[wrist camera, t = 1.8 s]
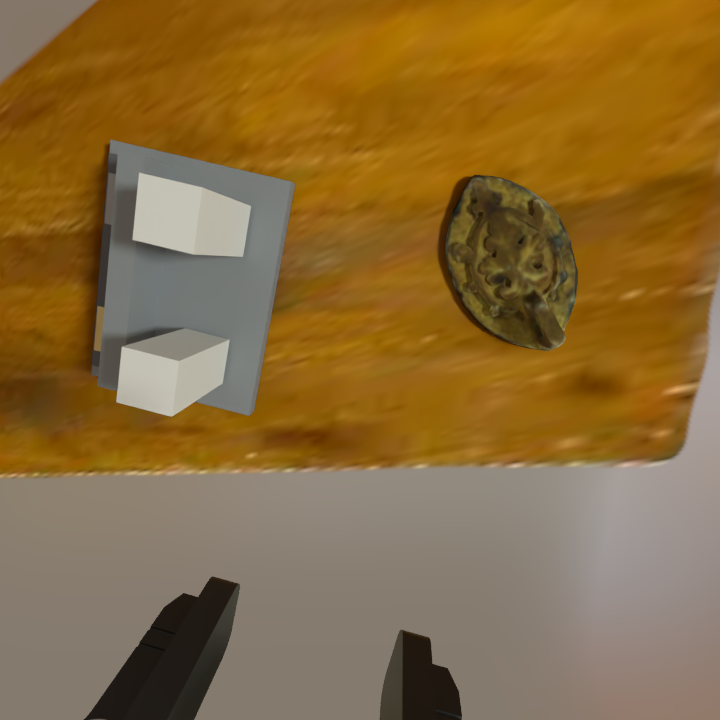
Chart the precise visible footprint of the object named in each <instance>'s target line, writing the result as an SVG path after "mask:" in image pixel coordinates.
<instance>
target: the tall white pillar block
mask: <svg viewBox="0 0 720 720" xmlns="http://www.w3.org/2000/svg"><path fill="white" fill-rule="evenodd" d="M229 341H230V339H226V338H222V337H218V336H214V335H210V334H206V333H202V332H198V331H194V330H190V329H186V328H184V329H181V330H177V331H174V332H170V333H167V334H163V335H160V336H156V337H153V338H150V339H146V340H143V341H139V342H136V343H132V344H129V345H125V346H122V350H121V360H120V370H119V380H118V390H117V401H116V402H118V403H121V404H125V405H129V406H133V407H137V408H140V409H144V410H148V411H152V412H156V413H160V414H163V415H167V416H171V417H172V416H174V415H175V414H177V413H178V412H180V411H181V410H183V409H184V408H186V407H187V406H189V405H190V404H192V403H193V402H195V401H197V400H198V399H200V398H201V397H203V396H204V395H206V394H207V393H209V392H210V391H212V390H213V389H215V388H216V387H218V386H219V385H221V384H223V378H224V372H225V366H226V360H227V353H228V347H229Z"/></svg>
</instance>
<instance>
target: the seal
mask: <svg viewBox="0 0 720 720" xmlns="http://www.w3.org/2000/svg"><path fill="white" fill-rule="evenodd" d="M445 256H446V262H447V265H448V269H449V272H450V275H451V278H452V281H453V284H454V287H455V289H456V292H457V294H458V295H459V297H460V299H461V301H462V303H463V305H464V306H465V308H466V309H467V310H468V312H469V313H470V314H471V315H472V316H473V317H474V319H475V320H476V321H477V322H478V323H479V324H480V325H482V326H483V327H484V328H485V329H486V330H488V331H489V332H490V333H492V334H494V335H495V336H497V337H499V338H501V339H503V340H505V341H508V342H510V343H513V344H516V345H519V346H523V347H527V348H532V349H538V350H544V351H550V350H552V349H554V348H557V347H558V346H560V345H562V344H563V343H564V341H565V340H566V337H565V333H564V329H565V326H566V324H567V323H568V320H569V318H570V315H571V313H572V310H573V306H574V304H575V299H576V289H577V283H578V270H577V267H576V264H575V259H574V254H573V251H572V248H571V240H570V237H569V234H568V232H567V231H566V229H565V228H564V226H563V224H562V222H561V219H560V217H559V216H558V214H557V213H556V211H555V210H554V209H553V208H552V207H551V206H549V204H548V203H547V202H545V201H544V200H543V199H542V198H540V197H539V196H538V195H536V194H535V193H533V192H531V191H530V190H528V189H526V188H524V187H522V186H520V185H518V184H516V183H514V182H512V181H509V180H506V179H503V178H499V177H494V176H482V175H474V176H473V177H472V178H470V179H469V181H468V183H467V184H466V186H465V188H464V190H463V192H462V194H461V197H460V199H459V201H458V203H457V205H456V207H455V208H454V210H453V213H452V215H451V218H450V222H449V226H448V230H447V236H446V249H445Z"/></svg>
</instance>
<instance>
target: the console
mask: <svg viewBox="0 0 720 720" xmlns="http://www.w3.org/2000/svg"><path fill="white" fill-rule="evenodd" d="M139 173H143V174H147V175H152V176H156V177H160V178H164V179H169V180H173V181H177V182H181V183H186V184H190V185H194V186H198V187H203V188H205V189H208V190H210V191H213V192H216V193H218V194H221V195H223V196H226V197H229V198H231V199H234V200H236V201H239V202H242V203H244V204H247V205H250V206H251V210H250V217H249V223H248V229H247V235H246V241H245V248H244V254H243V257H235V256H214V255H193V254H189V253H185V252H181V251H177V250H173V249H169V248H164V247H160V246H156V245H152V244H148V243H144V242H140V241H136V240H132V239H133V229H134V219H135V209H136V199H137V189H138V179H139ZM294 188H295V184H294V183H292V182H291V181H286V180H282V179H278V178H273V177H269V176H265V175H260V174H256V173H252V172H248V171H243V170H239V169H235V168H230V167H226V166H222V165H217V164H213V163H209V162H204V161H200V160H196V159H191V158H187V157H183V156H179V155H174V154H170V153H166V152H161V151H157V150H153V149H148V148H144V147H140V146H135V145H131V144H127V143H122V142H118V141H114V140H110V153H109V158H108V170H107V183H106V195H105V207H104V219H103V231H102V243H101V255H100V267H99V279H98V292H97V304H96V316H95V328H94V340H93V352H92V364H91V365H92V370H91V375H94V376H98V386H99V387H103V388H107V389H111V390H115V391H117V390H118V380H119V370H120V360H121V350H122V346H125V345H129V344H132V343H136V342H139V341H143V340H146V339H150V338H153V337H156V336H160V335H163V334H167V333H170V332H174V331H177V330H181V329H184V328H186V329H190V330H194V331H198V332H202V333H206V334H210V335H214V336H218V337H222V338H226V339H230V341H229V347H228V353H227V360H226V366H225V372H224V378H223V384H221V385H219V386H218V387H216V388H215V389H213V390H212V391H210V392H209V393H207V394H206V395H204V396H203V397H201V398H200V399H198V400H197V401H195V402H198V403H202V404H206V405H210V406H214V407H217V408H221V409H225V410H229V411H233V412H237V413H241V414H244V415H248V416H249V415H251V414H252V413H253V412H254V408H255V402H256V397H257V391H258V386H259V380H260V375H261V369H262V364H263V358H264V353H265V347H266V342H267V336H268V331H269V325H270V320H271V314H272V309H273V303H274V298H275V292H276V287H277V281H278V276H279V270H280V265H281V259H282V254H283V248H284V243H285V237H286V232H287V226H288V221H289V215H290V210H291V204H292V199H293V193H294Z"/></svg>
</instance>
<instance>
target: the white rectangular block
mask: <svg viewBox="0 0 720 720" xmlns="http://www.w3.org/2000/svg"><path fill="white" fill-rule="evenodd" d="M250 210H251V206H250V205H247V204H244V203H242V202H239V201H236V200H234V199H231V198H229V197H226V196H223V195H221V194H218V193H216V192H213V191H210V190H208V189H205V188H203V187H198V186H194V185H190V184H186V183H181V182H177V181H173V180H169V179H164V178H160V177H156V176H152V175H147V174H143V173H139V179H138V189H137V199H136V209H135V219H134V229H133V239H132V240H136V241H140V242H144V243H148V244H152V245H156V246H160V247H164V248H169V249H173V250H177V251H181V252H185V253H189V254H193V255H214V256H235V257H243V254H244V248H245V241H246V235H247V229H248V223H249V217H250Z"/></svg>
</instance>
